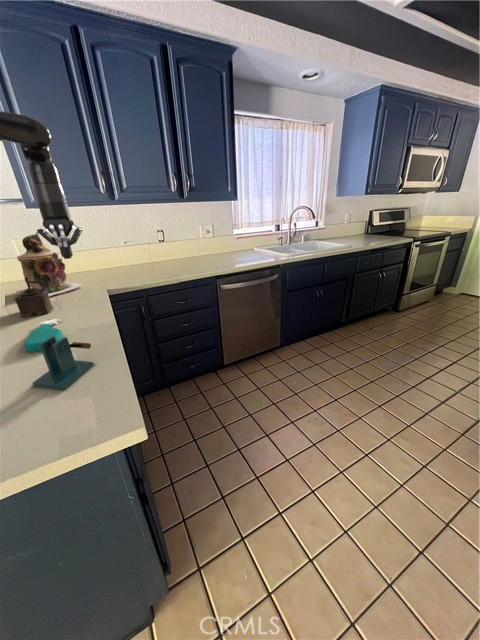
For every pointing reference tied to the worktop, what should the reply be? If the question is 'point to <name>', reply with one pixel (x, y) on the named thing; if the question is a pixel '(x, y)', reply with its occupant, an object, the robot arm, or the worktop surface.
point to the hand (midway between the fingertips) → (68, 258)
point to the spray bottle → (42, 335)
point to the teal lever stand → (60, 365)
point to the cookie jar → (44, 267)
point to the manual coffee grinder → (34, 299)
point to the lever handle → (71, 345)
